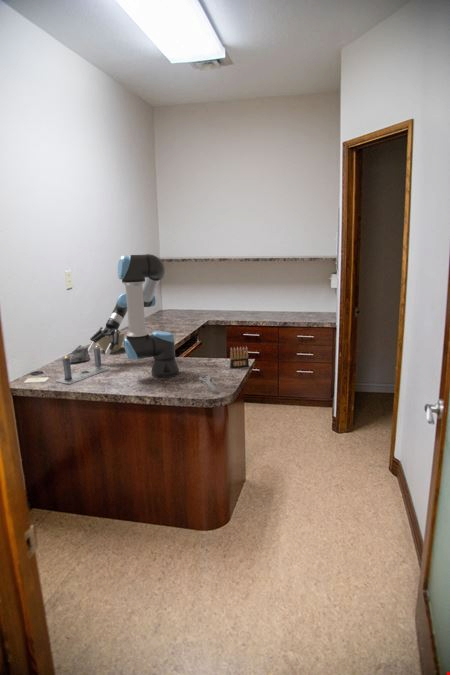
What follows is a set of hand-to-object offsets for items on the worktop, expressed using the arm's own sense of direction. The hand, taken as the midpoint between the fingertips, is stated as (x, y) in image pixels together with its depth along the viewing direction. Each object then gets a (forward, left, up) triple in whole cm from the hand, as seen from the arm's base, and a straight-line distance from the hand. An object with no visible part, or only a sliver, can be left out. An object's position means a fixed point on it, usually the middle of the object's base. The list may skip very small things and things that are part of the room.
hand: (97, 353), depth 256 cm
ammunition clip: (-73, -36, -10) cm, 81 cm away
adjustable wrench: (-73, -1, -10) cm, 74 cm away
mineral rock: (+23, -7, -10) cm, 26 cm away
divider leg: (-1, +1, -8) cm, 8 cm away
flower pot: (+22, -34, -10) cm, 41 cm away
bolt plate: (-1, +12, -9) cm, 16 cm away
